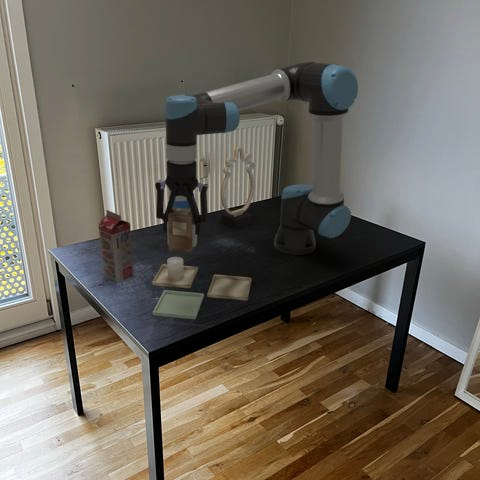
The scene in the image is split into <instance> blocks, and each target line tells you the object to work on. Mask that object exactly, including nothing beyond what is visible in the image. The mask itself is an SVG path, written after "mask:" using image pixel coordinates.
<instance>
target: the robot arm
mask: <svg viewBox="0 0 480 480" xmlns="http://www.w3.org/2000/svg"><path fill="white" fill-rule="evenodd" d="M358 85H359V84H358V79H357V76H356V74H355V73H354V71H352V70H351V69H350V68H349V67H347V66H345V65H344V66H343V65H341V64H337V63H335V64H334V63H324V62H315V61H305V62H299V63H296V64H291V65H288V66H285V67H282V68H278V69H275V70H273V71H272V72H271V74H269V75H268V74H267V75H265V76H262V77H261V76H260V77H257V78H252V79H249V80H246V81H242V82H238V83H235V84H231V85H227V86H223V87H219V88H216V89H212V90H209V91H208V90H207V91H204V92H199V93H197V94H195V93H194V94H192V95H191V94H188V93H186V94H185V93H184V94H183V93H182V94H178V95H170V96H168V97H167V98H166V99H165V107H164V108H165V111H164V118H165V138H166V139H165V143H166V144H165V145H166V147H165V148H166V150H165V151H166V153H165V154H166V155H165V158H166V159H167V161H166V178H165V179H164V180H160V179H159V180H158V181H156V182H155V184H154V186H155V189H156V213H155V214H156V216H155V217H156V219H157V220H158V219H160V220H161V221H163V232H164V233H166V234H167V235H166V236H167V246H169V234H168V215H169V213H170V212H171V210H172V208H173V205H174V202H175V199H176V196H183V197H186V198H187V201H188V203H189V206H190V209H191V212H192V215H193V218H194V222H193V224H192V247H193V248H196V246H197V243H198V236H200V234H201V230H202V228H201V227H202V226H201V225H202V223H206V222H207V220H208V218H209V215H208V214H209V213H208V211H209V210H208V197H207V194H208V189H209V184H207V183H205V184H204V183H202V182H199V180H198V178H197V170H198V169H197V167H198V166H197V161H196V160H197V151H198V150H197V145H198V144H197V140H198V138H197V137H198V136H203V135H213V134H216V135H217V134H226V133H231V132H234V131H236V130H237V129H238V127H239V125H240V117H241V116H240V112H241V111H244V110H248V109H250V108H255V107H257V106H260V105H265V104H269V103H271V102H276V101H278V102H280V103H281V102H282V103H285V102H287V101H300V102H304V103H305V102H306V103H308V113H309V115H310V116H311V117H312V118H313V145H312V146H313V149H312V150H313V154H312V156H313V159H312V160H313V161H312V185H311V184H292V185H288V186H286V187H284V189H283V190H282V194H281V198H280V199H281V204H280V225H279V228H278V229H277V232H276V234H275V237H274V240H273V246H274V248H275V250H277V251H278V252H280V253H282V254H286V255H290V256H305V255H309V254H312V253H313V252H314V251H315V250H316V237H315V234H314V232H316V233H318V235H320V236H323V237H326V238H329V239H335V238H337V237H338V236H340V235H342V233H344V231H345V230H346V229H347V228H348V226H349V225H350V222H351V218H352V213H351V210H350V209H349V207H348V206H346V205H345V195H344V194H343V192H341V191H340V189H341V169H342V168H341V167H342V166H341V165H342V164H341V163H342V146H343V145H342V140H343V120H344V117H345V116H346V115H347V114H348V113H349V108H351V107H352V106H353V105H354V103H355V100H356V99H357V97H358V92H359V86H358ZM166 187H167V188H168V190H169V189H170V191H171V194H170V197H169V196H168V202H167V205H166V208H165V211H164V206H165V205H164V203H165V188H166ZM196 188H197V189H198V192H199V193H200V195H199V198H200V199H199V202H200V211H199V208H198V205H197V202H196V199H195V193H194V191H195V190H196Z"/></svg>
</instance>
